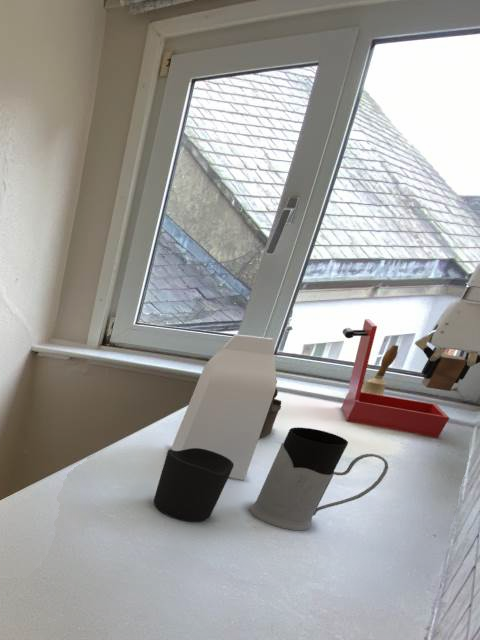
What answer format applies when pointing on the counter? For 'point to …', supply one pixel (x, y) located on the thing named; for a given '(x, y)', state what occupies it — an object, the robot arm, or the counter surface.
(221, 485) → the pen holder
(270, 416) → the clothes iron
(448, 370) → the block
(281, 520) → the glass holder
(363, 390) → the hand bell
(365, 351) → the lid
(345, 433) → the counter surface
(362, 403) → the red shallow rectangular box
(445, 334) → the robot arm
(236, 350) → the milk
